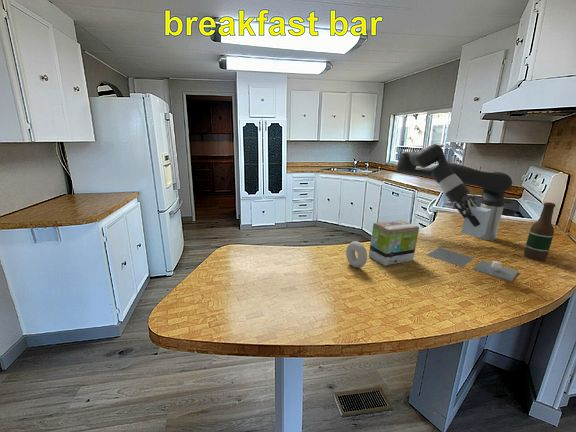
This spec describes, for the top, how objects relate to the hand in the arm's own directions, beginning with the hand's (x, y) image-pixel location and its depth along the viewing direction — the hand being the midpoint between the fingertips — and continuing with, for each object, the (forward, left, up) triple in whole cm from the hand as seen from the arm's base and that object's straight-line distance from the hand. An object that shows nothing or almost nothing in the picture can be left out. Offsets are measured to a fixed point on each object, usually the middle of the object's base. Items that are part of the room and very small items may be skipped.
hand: (480, 223), depth 108 cm
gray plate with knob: (+6, +5, -17) cm, 19 cm away
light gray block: (-2, -1, -4) cm, 5 cm away
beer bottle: (-3, +35, -17) cm, 39 cm away
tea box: (-10, -29, -17) cm, 35 cm away
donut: (-5, -47, -17) cm, 51 cm away
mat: (-8, -3, -17) cm, 19 cm away
